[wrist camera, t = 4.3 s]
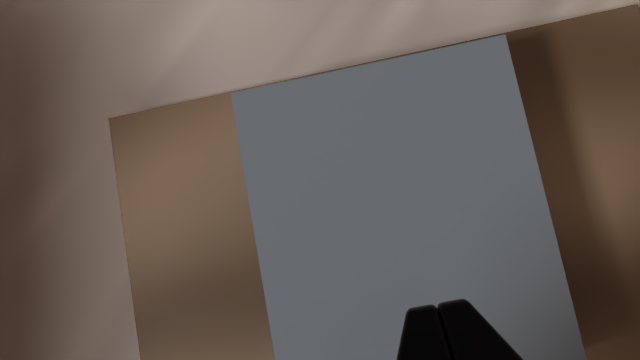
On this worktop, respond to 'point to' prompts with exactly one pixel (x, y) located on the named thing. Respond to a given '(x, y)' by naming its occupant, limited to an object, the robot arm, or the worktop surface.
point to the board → (217, 111)
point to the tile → (402, 205)
